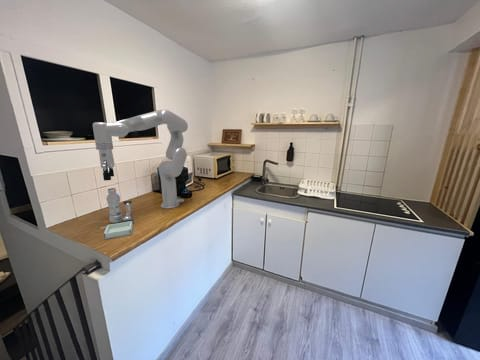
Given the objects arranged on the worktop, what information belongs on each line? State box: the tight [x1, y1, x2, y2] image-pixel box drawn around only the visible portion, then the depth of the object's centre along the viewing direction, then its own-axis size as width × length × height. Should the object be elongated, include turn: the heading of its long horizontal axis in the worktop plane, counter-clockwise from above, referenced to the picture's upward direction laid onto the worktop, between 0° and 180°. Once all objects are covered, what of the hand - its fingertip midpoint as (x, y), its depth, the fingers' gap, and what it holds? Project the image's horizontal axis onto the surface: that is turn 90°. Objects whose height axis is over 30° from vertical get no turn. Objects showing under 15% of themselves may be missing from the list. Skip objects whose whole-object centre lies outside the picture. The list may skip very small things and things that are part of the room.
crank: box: [122, 200, 133, 222], centre depth 116 cm, size 14×5×8 cm, turn 24°
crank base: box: [100, 217, 135, 229], centre depth 111 cm, size 16×6×2 cm, turn 114°
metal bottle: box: [106, 187, 124, 224], centre depth 113 cm, size 6×7×20 cm
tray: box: [103, 221, 134, 241], centre depth 103 cm, size 12×11×3 cm
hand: (109, 178), depth 109 cm, fingers open, 9 cm apart
